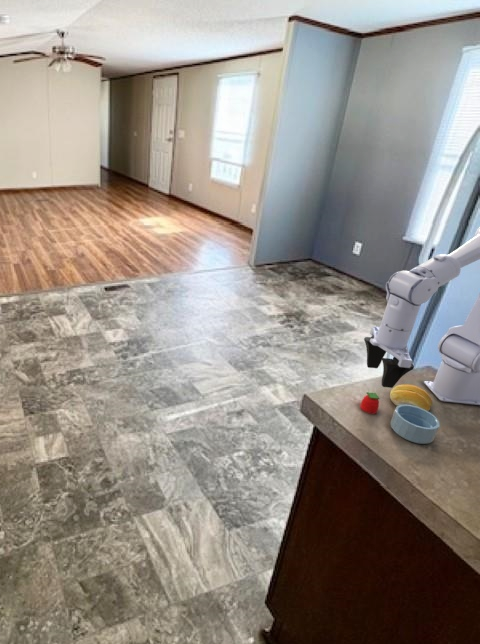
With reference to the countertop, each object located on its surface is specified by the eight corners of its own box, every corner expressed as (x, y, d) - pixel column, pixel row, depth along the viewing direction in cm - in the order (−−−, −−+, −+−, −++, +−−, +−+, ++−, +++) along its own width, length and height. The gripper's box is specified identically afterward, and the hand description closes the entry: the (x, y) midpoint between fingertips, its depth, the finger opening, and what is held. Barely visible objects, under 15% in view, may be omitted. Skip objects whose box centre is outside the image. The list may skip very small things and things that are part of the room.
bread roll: (431, 401, 104) (437, 388, 103) (426, 419, 98) (431, 405, 97) (392, 387, 110) (397, 374, 108) (385, 403, 104) (389, 389, 102)
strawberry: (372, 405, 103) (377, 391, 101) (379, 414, 100) (384, 400, 98) (358, 403, 103) (362, 390, 102) (363, 412, 100) (368, 398, 99)
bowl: (420, 422, 97) (426, 406, 96) (440, 447, 90) (448, 431, 88) (383, 418, 99) (388, 402, 97) (400, 443, 91) (406, 426, 89)
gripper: (363, 309, 100) (348, 357, 105) (393, 339, 86) (374, 393, 92) (395, 311, 99) (379, 360, 104) (430, 342, 85) (410, 397, 91)
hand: (379, 376), depth 98 cm, fingers open, 7 cm apart
